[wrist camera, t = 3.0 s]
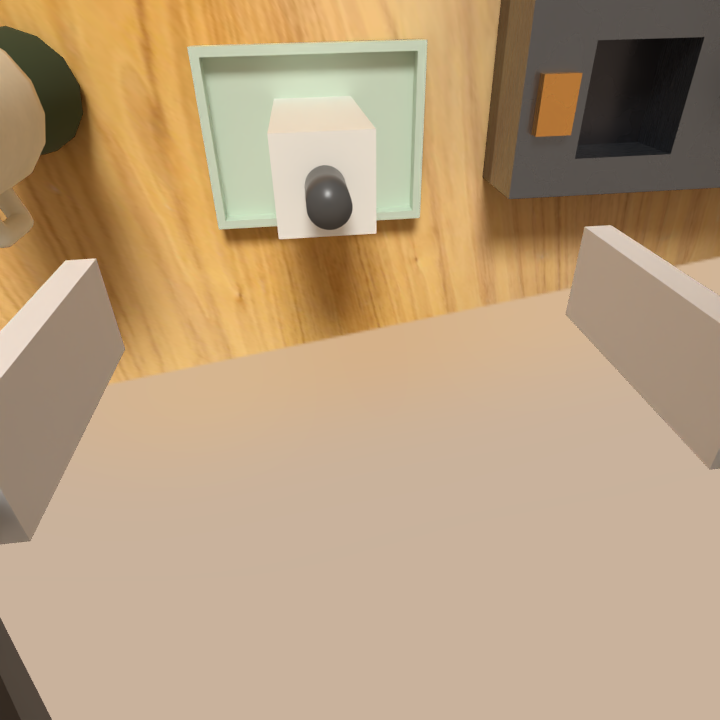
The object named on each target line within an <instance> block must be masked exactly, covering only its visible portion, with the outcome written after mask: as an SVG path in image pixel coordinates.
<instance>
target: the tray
mask: <svg viewBox="0 0 720 720" xmlns="http://www.w3.org/2000/svg"><path fill="white" fill-rule="evenodd" d="M187 48H188V54H189V59H190V65H191V71H192V77H193V82H194V88H195V94H196V100H197V106H198V111H199V117H200V123H201V129H202V135H203V140H204V146H205V152H206V158H207V163H208V169H209V175H210V181H211V187H212V192H213V198H214V204H215V210H216V215H217V221H218V227H219V229H235V228H252V227H270V226H277V218H276V209H275V200H274V191H273V181H272V172H271V163H270V154H269V145H268V136H267V132H268V127H269V122H270V117H271V111H272V106H273V101H274V99H279V98H306V97H332V96H351V97H352V98H353V100H354V101H355V102H356V104H357V105H358V106H359V107H360V109H361V110H362V111H363V113H364V114H365V115H366V117H367V118H368V119H369V120H370V122H371V123H372V124H373V126H374V127H375V128H376V220H392V219H410V218H420V201H421V177H422V154H423V130H424V106H425V83H426V59H427V40H425V39H403V40H368V41H334V42H299V43H265V44H230V45H196V46H189V47H187Z"/></svg>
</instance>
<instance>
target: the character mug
mask: <svg viewBox="0 0 720 720" xmlns="http://www.w3.org/2000/svg"><path fill="white" fill-rule="evenodd" d="M82 115H83V110H82V102H81V94H80V86H79V84H78V82H77V81H76V79H75V77H74V75H73V74H72V72H71V70H70V69H69V67H68V65H67V63H66V62H65V60H64V58H63V57H61V56H60V55H59V54H58V53H56V52H55V51H54V50H53V49H52V48H50V47H49V46H48V45H47V44H45V43H44V42H43V41H42V40H41V39H39V38H38V37H37V36H34V35H31V34H28V33H25V32H22V31H19V30H16V29H13V28H10V27H7V26H3V27H0V209H1V210H2V211H3V213H4V214H5V215H6V217H7V219H6V220H5V221H2V220H1V219H0V248H5V247H10V246H12V245H13V244H14V243H15V242H17V241H18V240H19V239H20V238H21V237H23V236H24V235H25V234H26V233H27V232H29V230H30V229H31V228H32V227H33V224H34V220H33V218H32V216H31V214H30V212H29V211H28V209H27V208H26V206H25V205H24V204H23V202H22V201H21V200H20V198H19V197H18V195H17V194H16V193H15V191H14V190H13V188H12V187H13V186H15V185H16V184H17V183H19V182H20V181H22V180H23V179H24V178H26V177H27V176H28V175H30V174H31V173H32V172H33V170H34V168H35V165H36V163H37V161H38V159H39V156H40V155H43V154H47V153H50V152H54V151H57V150H58V149H60V148H61V147H62V146H63V145H65V144H66V143H67V142H68V141H70V140H71V139H72V138H73V137H75V134H76V131H77V128H78V126H79V123H80V120H81V118H82Z"/></svg>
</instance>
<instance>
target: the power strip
mask: <svg viewBox="0 0 720 720" xmlns="http://www.w3.org/2000/svg"><path fill="white" fill-rule="evenodd" d="M483 178H484V179H485V180H486V181H488V182H489V183H490V184H491V185H492V186H494V187H495V188H496V189H497V190H498V191H500V192H501V193H502V194H503V195H504V196H506V197H507V198H508V199H520V198H538V197H556V196H575V195H593V194H611V193H629V192H647V191H665V190H683V189H702V188H720V0H501V8H500V18H499V27H498V37H497V46H496V56H495V66H494V75H493V85H492V94H491V104H490V113H489V123H488V132H487V142H486V152H485V161H484V171H483Z"/></svg>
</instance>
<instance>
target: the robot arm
mask: <svg viewBox="0 0 720 720" xmlns="http://www.w3.org/2000/svg"><path fill="white" fill-rule="evenodd" d="M566 315H567V316H568V317H569V319H570V320H571V321H572V322H573V323H574V324H575V325H576V326H577V327H578V328H579V329H580V330H581V332H582V333H583V334H584V335H585V336H586V337H587V338H588V339H589V340H590V341H591V342H592V343H593V344H594V346H595V347H596V348H597V349H598V350H599V351H600V352H601V353H602V354H603V355H604V356H605V357H606V358H607V359H608V361H609V362H610V363H611V364H612V365H613V366H614V367H615V368H616V369H617V370H618V371H619V372H620V373H621V375H622V376H623V377H624V378H625V379H626V380H627V381H628V382H629V383H630V384H631V385H632V386H633V387H634V389H635V390H636V391H637V392H638V393H639V394H640V395H641V396H642V397H643V398H644V399H645V400H646V402H647V403H648V404H649V405H650V406H651V407H652V408H653V409H654V410H655V411H656V412H657V413H658V414H659V416H660V417H661V418H662V419H663V420H664V421H665V422H666V423H667V424H668V425H669V426H670V427H671V428H672V430H673V431H674V432H675V433H676V434H677V435H678V436H679V437H680V438H681V439H682V440H683V441H684V442H685V443H686V445H687V446H688V447H689V448H690V449H691V450H692V451H693V452H694V453H695V454H696V455H697V456H698V458H700V460H701V461H702V462H703V463H704V464H705V465H706V466H707V467H708V468H709V469H718V468H720V296H719V295H718V294H716V293H715V292H713V291H712V290H710V289H709V288H707V287H706V286H704V285H702V284H701V283H699V282H698V281H696V280H695V279H693V278H691V277H690V276H689V275H687V274H685V273H684V272H682V271H681V270H679V269H678V268H676V267H675V266H673V265H672V264H670V263H668V262H667V261H665V260H664V259H662V258H661V257H659V256H658V255H656V254H655V253H653V252H652V251H650V250H648V249H647V248H645V247H644V246H642V245H641V244H639V243H638V242H636V241H635V240H633V239H631V238H630V237H628V236H627V235H625V234H624V233H622V232H621V231H619V230H618V229H616V228H615V227H613V226H611V225H604V226H588V227H584V231H583V236H582V240H581V245H580V250H579V254H578V259H577V264H576V268H575V273H574V278H573V282H572V287H571V292H570V296H569V302H568V306H567V310H566ZM124 350H125V347H124V344H123V341H122V337H121V334H120V331H119V328H118V325H117V322H116V319H115V316H114V312H113V309H112V306H111V303H110V300H109V297H108V294H107V291H106V287H105V284H104V281H103V278H102V275H101V272H100V269H99V265H98V262H97V259H96V258H95V259H80V260H65V261H64V263H63V264H62V265H61V266H60V267H59V268H58V269H57V270H56V271H55V272H54V273H53V275H52V276H51V277H50V278H49V279H48V280H47V281H46V282H45V283H44V284H43V285H42V286H41V288H40V289H39V290H38V291H37V292H36V293H35V294H34V295H33V296H32V297H31V298H30V300H29V301H28V302H27V303H26V304H25V305H24V306H23V307H22V308H21V309H20V310H19V312H18V313H17V314H16V315H15V316H14V317H13V318H12V319H11V320H10V321H9V322H8V324H7V325H6V326H5V327H4V328H3V329H2V330H1V331H0V544H7V543H17V542H27V541H31V539H32V536H33V535H34V532H35V531H36V528H37V527H38V525H39V522H40V520H41V518H42V516H43V514H44V512H45V510H46V508H47V506H48V504H49V502H50V500H51V498H52V496H53V494H54V492H55V490H56V488H57V486H58V484H59V482H60V480H61V478H62V476H63V474H64V471H65V470H66V468H67V466H68V464H69V462H70V460H71V458H72V456H73V454H74V451H75V450H76V447H77V446H78V443H79V441H80V439H81V437H82V435H83V433H84V431H85V429H86V427H87V425H88V423H89V421H90V419H91V417H92V415H93V413H94V411H95V409H96V407H97V405H98V403H99V401H100V399H101V397H102V395H103V393H104V391H105V389H106V387H107V385H108V383H109V381H110V379H111V377H112V375H113V373H114V371H115V369H116V367H117V364H118V362H119V360H120V358H121V356H122V354H123V352H124ZM0 720H52V719H51V717H50V715H49V713H48V711H47V709H46V707H45V705H44V703H43V701H42V699H41V698H40V696H39V693H38V691H37V689H36V687H35V685H34V684H33V682H32V680H31V678H30V676H29V674H28V672H27V670H26V668H25V666H24V664H23V662H22V660H21V658H20V656H19V654H18V652H17V650H16V648H15V646H14V644H13V642H12V640H11V638H10V636H9V634H8V632H7V630H6V628H5V626H4V624H3V622H2V620H1V618H0Z"/></svg>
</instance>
